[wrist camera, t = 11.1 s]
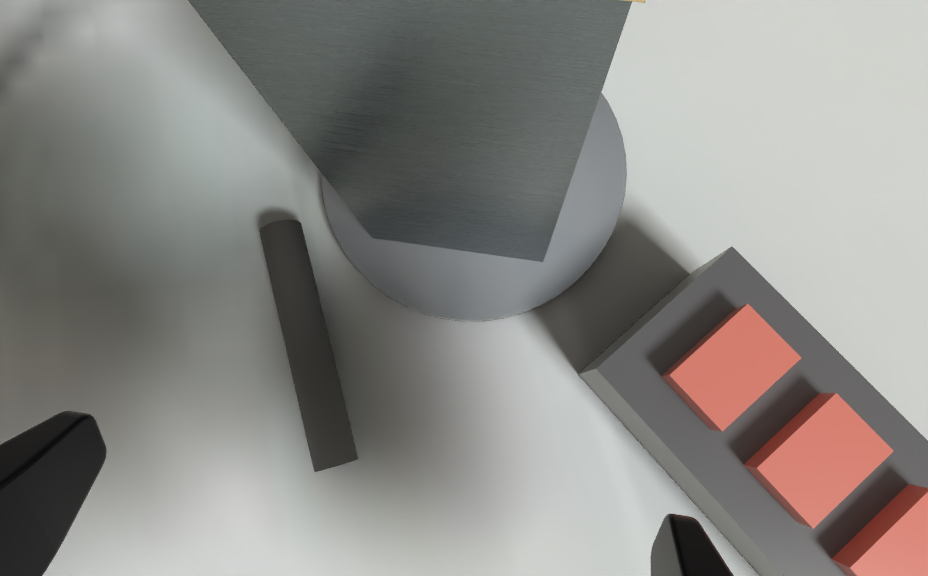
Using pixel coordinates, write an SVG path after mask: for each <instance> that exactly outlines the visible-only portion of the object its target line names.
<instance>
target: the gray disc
mask: <svg viewBox="0 0 928 576" xmlns="http://www.w3.org/2000/svg"><path fill="white" fill-rule="evenodd" d="M626 176H627V172H626V154H625V149H624V144H623V138H622V135H621V132H620V129H619V126H618V123H617V120H616V118H615V115H614V113H613V111H612V109H611V107H610V105H609V103H608V102H607V100H606V99H605V97H604V96H603V94H602V93H601V94H600V97H599V100H598V103H597V106H596V109H595V112H594V114H593V117H592V120H591V123H590V126H589V129H588V132H587V135H586V138H585V141H584V144H583V147H582V150H581V153H580V156H579V159H578V161H577V164H576V167H575V170H574V173H573V176H572V179H571V182H570V185H569V188H568V191H567V194H566V197H565V200H564V203H563V206H562V208H561V211H560V214H559V217H558V220H557V223H556V226H555V229H554V232H553V235H552V238H551V241H550V244H549V247H548V250H547V253H546V255H545V258H544V261H543V262H539V261H531V260H524V259H517V258H510V257H503V256H496V255H489V254H482V253H474V252H467V251H460V250H453V249H446V248H439V247H432V246H425V245H418V244H410V243H403V242H396V241H389V240H382V239H375V238H372V237H371V236H370V235H369V233H368V232H367V231H366V230H365V228H364V227H363V226H362V224H361V223H360V222H359V221H358V219H357V218H356V217H355V215H354V214H353V213H352V211H351V210H350V209H349V208H348V206H347V205H346V204H345V202H344V201H343V200H342V199H341V197H340V196H339V195H338V193H337V192H336V191H335V190H334V188H333V187H332V186H331V184H330V183H329V182H328V180H327V179H326V178H325V177H324V175H323V174H322V178H321V180H322V191H323V200H324V204H325V209H326V213H327V217H328V220H329V222H330V225H331V227H332V230H333V233H334V235H335V237H336V239H337V240H338V242H339V244H340V246H341V248H342V250H343V251H344V253H345V254H346V255H347V257H348V258H349V259H350V261H351V262H352V263H353V265H354V266H355V267H356V268H357V269H358V270H359V271H360V272H361V273H362V274H363V275H364V276H365V278H366V279H367V280H368V281H369V282H371V283H372V284H373V285H374V286H375V287H377V288H378V289H379V290H380V291H382V292H383V293H384V294H386V295H387V296H388V297H390V298H392V299H393V300H395V301H397V302H399V303H400V304H402V305H404V306H406V307H408V308H411V309H413V310H415V311H418V312H420V313H423V314H426V315H430V316H434V317H437V318H441V319H448V320H455V321H489V320H497V319H503V318H507V317H511V316H515V315H518V314H522V313H525V312H527V311H529V310H532V309H534V308H537V307H539V306H541V305H543V304H545V303H547V302H548V301H550V300H552V299H553V298H555V297H557V296H559V295H560V294H561V293H562V292H564V291H565V290H566V289H568V288H569V287H570V286H572V285H573V284H574V283H575V282H576V281H577V280H578V279H579V278H580V277H581V276H582V275H583V274H584V273H585V272H586V271H587V270H588V269H589V268H590V266H591V265H592V264H593V262H594V261H595V260H596V258H597V257H598V256H599V254H600V253H601V252H602V250H603V249H604V247H605V245H606V243H607V241H608V240H609V238H610V236H611V234H612V233H613V230H614V228H615V225H616V223H617V220H618V218H619V215H620V212H621V208H622V204H623V200H624V195H625V187H626Z"/></svg>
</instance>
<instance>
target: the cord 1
mask: <svg viewBox="0 0 928 576" xmlns="http://www.w3.org/2000/svg"><path fill="white" fill-rule="evenodd" d="M260 236H261V240H262V244H263V249H264V253H265V258H266V262H267V266H268V271H269V275H270V279H271V284H272V288H273V293H274V297H275V301H276V306H277V310H278V314H279V319H280V323H281V327H282V332H283V336H284V341H285V345H286V349H287V354H288V358H289V362H290V367H291V371H292V375H293V380H294V384H295V389H296V393H297V397H298V402H299V406H300V410H301V415H302V419H303V423H304V428H305V432H306V437H307V441H308V445H309V450H310V454H311V458H312V463H313V467H314V471H315V472H317V471H321V470H324V469H328V468H331V467H335V466H338V465H341V464H344V463H348V462H351V461H354V460H357V459H358V456H357V452H356V447H355V443H354V439H353V435H352V431H351V427H350V423H349V419H348V415H347V410H346V406H345V402H344V398H343V394H342V390H341V386H340V382H339V378H338V373H337V369H336V365H335V361H334V357H333V353H332V349H331V345H330V341H329V336H328V332H327V328H326V324H325V320H324V316H323V312H322V308H321V304H320V300H319V295H318V291H317V287H316V283H315V279H314V275H313V271H312V267H311V263H310V258H309V254H308V250H307V246H306V242H305V238H304V234H303V230H302V226H301V223H300V222H299V221H295V220H282V221H277V222H273V223H270V224H267V225H265V226H264V227H262V228H261V229H260Z"/></svg>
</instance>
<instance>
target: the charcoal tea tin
mask: <svg viewBox="0 0 928 576" xmlns="http://www.w3.org/2000/svg"><path fill="white" fill-rule="evenodd" d="M188 1H189V2H190V3H191V5H192V6H193V7H194V9H195V10H196V11H197V12H198V14H199V15H200V16H201V18H202V19H203V20H204V21H205V23H206V24H207V25H208V27H209V28H210V29H211V31H212V32H213V33H214V34H215V36H216V37H217V38H218V40H219V41H220V42H221V43H222V45H223V46H224V47H225V49H226V50H227V51H228V53H229V54H230V55H231V56H232V58H233V59H234V60H235V62H236V63H237V64H238V65H239V67H240V68H241V69H242V71H243V72H244V73H245V74H246V76H247V77H248V78H249V80H250V81H251V82H252V84H253V85H254V86H255V87H256V89H257V90H258V91H259V93H260V94H261V95H262V96H263V98H264V99H265V100H266V102H267V103H268V104H269V105H270V107H271V108H272V109H273V111H274V112H275V113H276V115H277V116H278V117H279V118H280V120H281V121H282V122H283V124H284V125H285V126H286V127H287V129H288V130H289V131H290V133H291V134H292V135H293V137H294V138H295V139H296V140H297V142H298V143H299V144H300V146H301V147H302V148H303V149H304V151H305V152H306V153H307V155H308V156H309V157H310V158H311V160H312V161H313V162H314V164H315V165H316V166H317V168H318V169H319V170H320V171H321V173H322V174H323V175H324V177H325V178H326V179H327V180H328V182H329V183H330V184H331V186H332V187H333V188H334V190H335V191H336V192H337V193H338V195H339V196H340V197H341V199H342V200H343V201H344V202H345V204H346V205H347V206H348V208H349V209H350V210H351V211H352V213H353V214H354V215H355V217H356V218H357V219H358V221H359V222H360V223H361V224H362V226H363V227H364V228H365V230H366V231H367V232H368V233H369V235H370V236H371V237H372V238H375V239H382V240H389V241H396V242H403V243H410V244H418V245H425V246H432V247H439V248H446V249H453V250H460V251H467V252H474V253H482V254H489V255H496V256H503V257H510V258H517V259H524V260H531V261H539V262H543V261H544V258H545V255H546V253H547V250H548V247H549V244H550V241H551V238H552V235H553V232H554V229H555V226H556V223H557V220H558V217H559V214H560V211H561V208H562V206H563V203H564V200H565V197H566V194H567V191H568V188H569V185H570V182H571V179H572V176H573V173H574V170H575V167H576V164H577V161H578V159H579V156H580V153H581V150H582V147H583V144H584V141H585V138H586V135H587V132H588V129H589V126H590V123H591V120H592V117H593V114H594V112H595V109H596V106H597V103H598V100H599V97H600V94H601V91H602V88H603V85H604V82H605V79H606V76H607V73H608V70H609V68H610V65H611V62H612V59H613V56H614V53H615V50H616V47H617V44H618V41H619V38H620V35H621V32H622V29H623V26H624V23H625V21H626V18H627V15H628V12H629V9H630V6H631V3H632V1H633V2H642V3H645V0H188Z"/></svg>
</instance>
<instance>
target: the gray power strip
mask: <svg viewBox="0 0 928 576" xmlns="http://www.w3.org/2000/svg"><path fill="white" fill-rule="evenodd" d="M578 375H579V376H580V377H581V378H582V379H583V380H584V381H585V382H586V384H587V385H588V386H589V387H590V388H591V389H592V390H593V391H594V392H595V394H596V395H597V396H598V397H599V398H600V399H601V400H602V401H603V402H604V404H605V405H606V406H607V407H608V408H609V409H610V410H611V411H612V412H613V413H614V415H615V416H616V417H617V418H618V419H619V420H620V421H621V422H622V423H623V425H624V426H625V427H626V428H627V429H628V430H629V431H630V432H631V433H632V435H633V436H634V437H635V438H636V439H637V440H638V441H639V442H640V443H641V445H642V446H643V447H644V448H645V449H646V450H647V451H648V452H649V453H650V454H651V456H652V457H653V458H654V459H655V460H656V461H657V462H658V463H659V464H660V466H661V467H662V468H663V469H664V470H665V471H666V472H667V473H668V474H669V476H670V477H671V478H672V479H673V480H674V481H675V482H676V483H677V484H678V486H679V487H680V488H681V489H682V490H683V491H684V492H685V493H686V494H687V495H688V497H689V498H690V499H691V500H692V501H693V502H694V503H695V504H696V505H697V507H698V508H699V509H700V510H701V511H702V512H703V513H704V514H705V515H706V517H707V518H708V519H709V520H710V521H711V522H712V523H713V524H714V525H715V526H716V528H717V529H718V530H719V531H720V532H721V533H722V534H723V535H724V536H725V538H726V539H727V540H728V541H729V542H730V543H731V544H732V545H733V546H734V548H735V549H736V550H737V551H738V552H739V553H740V554H741V555H742V556H743V558H744V559H745V560H746V561H747V562H748V563H749V564H750V565H751V566H752V567H753V569H754V570H755V571H756V572H757V573H758V574H759V575H760V576H928V441H927V440H926V439H925V438H924V437H923V436H922V435H921V434H920V433H919V432H918V431H917V430H916V429H915V428H914V427H913V426H912V425H911V424H910V423H909V422H908V421H907V420H906V419H905V418H904V417H903V416H902V415H901V414H900V413H899V412H898V411H897V410H896V409H895V408H894V407H893V406H892V405H891V404H890V403H889V402H888V401H887V400H886V399H885V398H884V397H883V396H882V395H881V394H880V393H879V392H878V391H877V390H876V389H875V388H874V387H873V386H872V385H871V384H870V383H869V382H868V381H867V380H866V379H865V378H864V377H863V376H862V375H861V374H860V373H859V372H858V371H857V370H856V369H855V368H854V367H853V366H852V365H851V364H850V363H849V362H848V361H847V360H846V359H845V358H844V357H843V356H842V355H841V354H840V353H839V352H838V351H837V350H836V349H835V348H834V347H833V346H832V345H831V344H830V343H829V342H828V341H827V340H826V339H825V338H824V337H823V336H822V335H821V334H820V333H819V332H818V331H817V330H816V329H815V328H814V327H813V326H812V325H811V324H810V323H809V322H808V321H807V320H806V319H805V318H804V317H803V316H802V315H801V314H800V313H799V312H798V311H797V310H796V309H795V308H794V307H793V306H792V305H791V304H790V303H789V302H788V301H787V300H786V299H785V298H784V297H783V296H782V295H781V294H780V293H779V292H778V291H776V290H775V289H774V288H773V287H772V286H771V285H770V284H769V283H768V282H767V281H766V280H765V279H764V278H763V277H762V276H761V275H760V274H759V273H758V272H757V271H756V270H755V269H754V268H753V267H752V266H751V265H750V264H749V263H748V262H747V261H746V260H745V259H744V258H743V257H742V256H741V255H740V254H739V253H738V252H737V251H736V250H735V249H734V248H733V247H731V248H729V249H727V250H726V251H724V252H723V253H721V254H720V255H718V256H717V257H715V258H714V259H712V260H710V261H709V262H707V263H706V264H704V265H703V266H701V267H700V268H698V269H697V270H695V271H693V272H692V273H690V274H689V275H688V276H687V277H686V278H685V279H684V280H683V281H681V282H680V283H679V284H678V285H677V286H676V287H675V288H674V289H672V290H671V291H670V292H669V293H668V294H667V295H666V296H665V297H664V298H662V299H661V300H660V301H659V302H658V303H657V304H656V305H655V306H654V307H652V308H651V309H650V310H649V311H648V312H647V313H646V314H645V315H644V316H642V317H641V318H640V319H639V320H638V321H637V322H636V323H635V324H633V325H632V326H631V327H630V328H629V329H628V330H627V331H626V332H625V333H623V334H622V335H621V336H620V337H619V338H618V339H617V340H616V341H615V342H613V343H612V344H611V345H610V346H609V347H608V348H607V349H606V350H605V351H603V352H602V353H601V354H600V355H599V356H598V357H597V358H596V359H594V360H593V361H592V362H591V363H590V364H589V365H588V366H587V367H586V368H584V369H583V370H582V371H581V372H580V373H579V374H578Z"/></svg>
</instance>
